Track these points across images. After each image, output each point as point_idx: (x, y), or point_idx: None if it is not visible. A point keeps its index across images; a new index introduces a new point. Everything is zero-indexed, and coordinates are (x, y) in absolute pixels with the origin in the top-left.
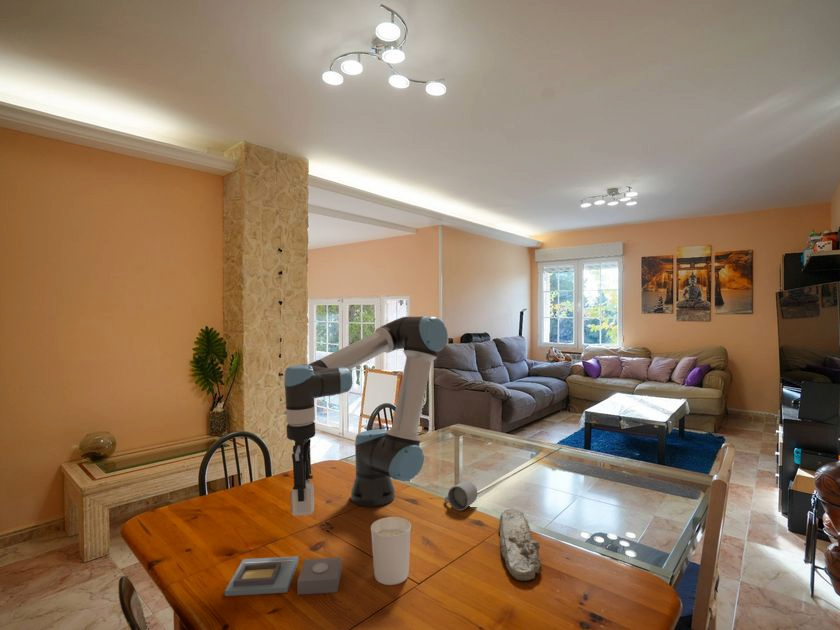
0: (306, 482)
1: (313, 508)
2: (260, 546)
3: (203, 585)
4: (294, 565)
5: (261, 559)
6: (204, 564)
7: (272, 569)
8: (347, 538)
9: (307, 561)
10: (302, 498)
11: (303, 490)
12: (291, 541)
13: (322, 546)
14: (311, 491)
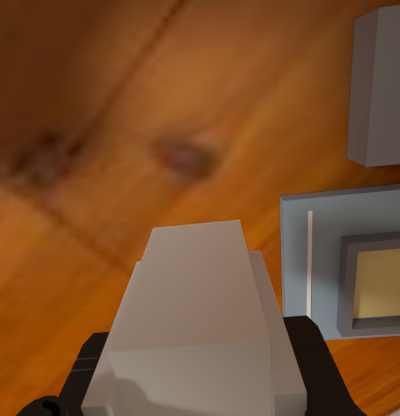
0: (122, 412)
1: (174, 229)
2: None
3: (367, 377)
4: (340, 197)
5: (292, 300)
6: None
7: (358, 255)
8: (122, 50)
9: (382, 152)
10: (322, 340)
11: (329, 394)
12: None
13: (188, 140)
14: (233, 313)
